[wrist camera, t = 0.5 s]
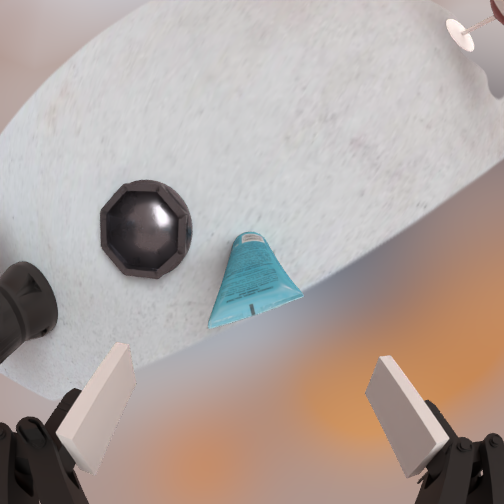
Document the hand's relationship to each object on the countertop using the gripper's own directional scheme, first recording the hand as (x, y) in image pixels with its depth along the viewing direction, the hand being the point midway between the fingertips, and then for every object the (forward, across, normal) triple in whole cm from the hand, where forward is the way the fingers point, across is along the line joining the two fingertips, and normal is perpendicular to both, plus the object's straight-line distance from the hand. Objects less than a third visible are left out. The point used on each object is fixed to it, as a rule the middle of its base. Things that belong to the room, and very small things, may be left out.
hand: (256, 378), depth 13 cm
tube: (+26, 0, 0) cm, 27 cm away
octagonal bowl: (+26, -15, +2) cm, 30 cm away
